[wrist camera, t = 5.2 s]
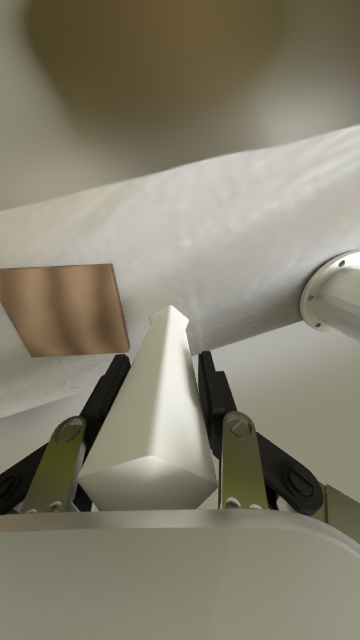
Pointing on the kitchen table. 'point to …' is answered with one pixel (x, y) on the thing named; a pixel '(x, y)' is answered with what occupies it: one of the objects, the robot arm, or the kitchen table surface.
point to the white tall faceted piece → (153, 431)
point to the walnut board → (65, 309)
